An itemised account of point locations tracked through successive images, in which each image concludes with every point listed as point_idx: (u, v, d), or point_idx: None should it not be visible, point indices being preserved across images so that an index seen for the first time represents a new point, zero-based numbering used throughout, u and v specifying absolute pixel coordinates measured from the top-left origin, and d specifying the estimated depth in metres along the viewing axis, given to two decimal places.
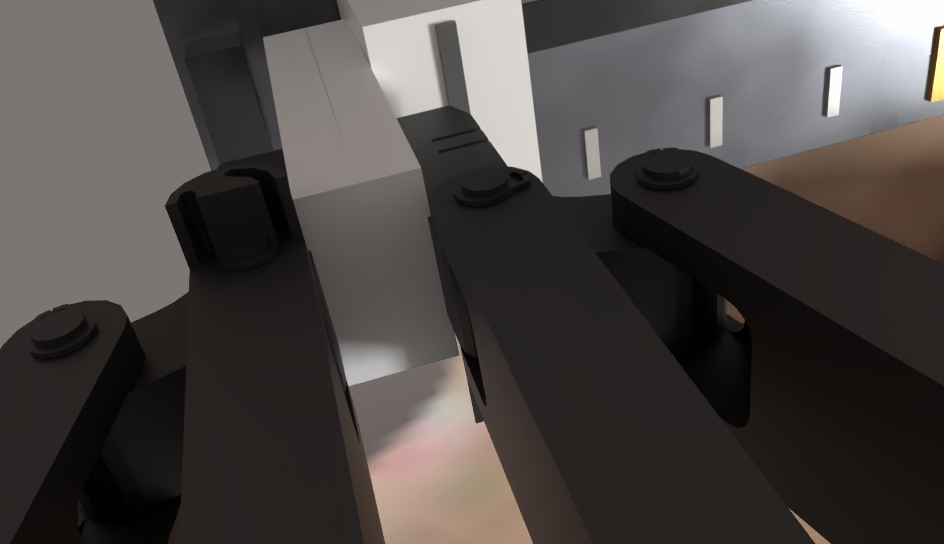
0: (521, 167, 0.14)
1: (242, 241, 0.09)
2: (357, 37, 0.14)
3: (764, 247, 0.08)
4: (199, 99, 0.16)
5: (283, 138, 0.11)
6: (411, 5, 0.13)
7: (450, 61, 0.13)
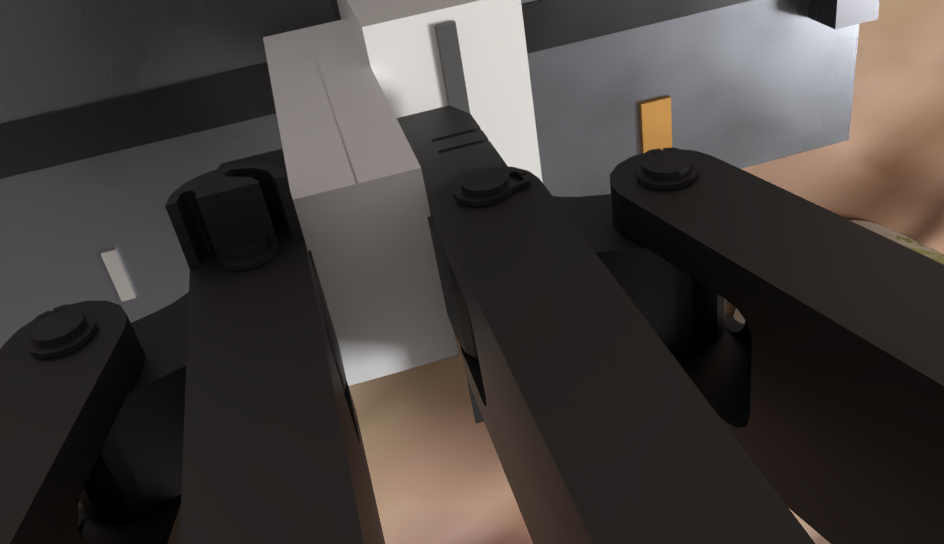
0: (521, 167, 0.14)
1: (242, 241, 0.09)
2: (357, 37, 0.14)
3: (764, 247, 0.08)
4: None
5: (283, 138, 0.11)
6: (411, 4, 0.13)
7: (450, 60, 0.13)
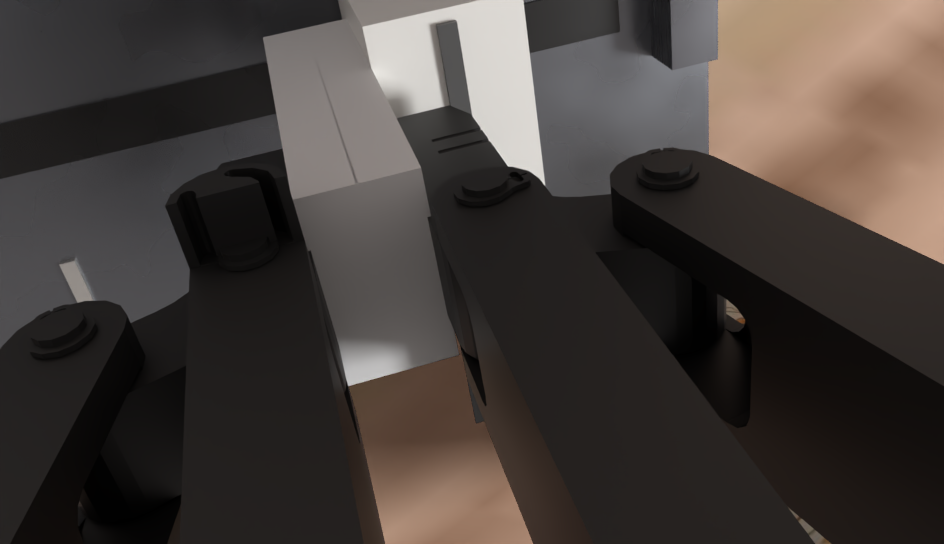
0: (523, 168, 0.14)
1: (242, 241, 0.09)
2: (357, 37, 0.14)
3: (764, 247, 0.08)
4: None
5: (283, 138, 0.11)
6: (411, 4, 0.13)
7: (451, 60, 0.13)
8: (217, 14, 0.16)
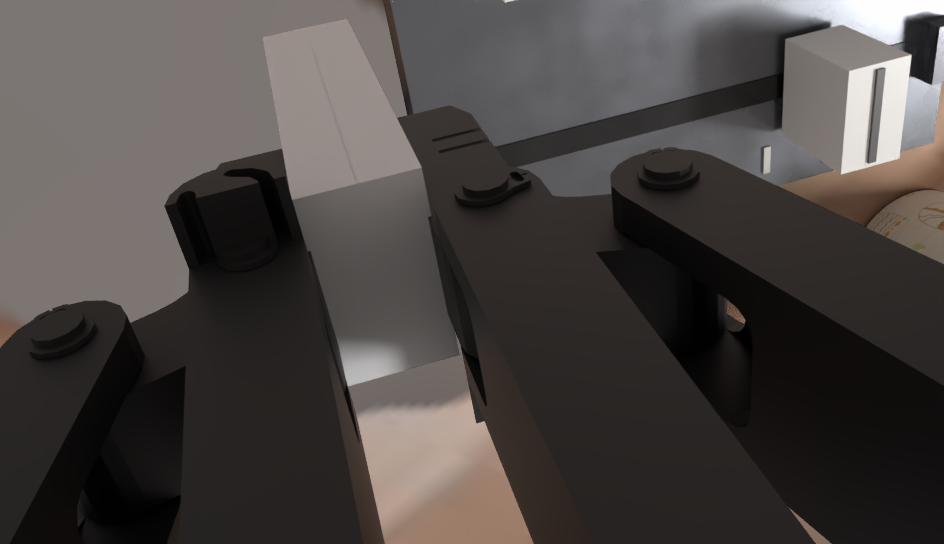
0: (894, 131, 0.32)
1: (241, 241, 0.09)
2: (827, 73, 0.31)
3: (764, 247, 0.08)
4: None
5: (283, 138, 0.11)
6: (861, 60, 0.31)
7: (880, 84, 0.30)
8: (728, 61, 0.34)
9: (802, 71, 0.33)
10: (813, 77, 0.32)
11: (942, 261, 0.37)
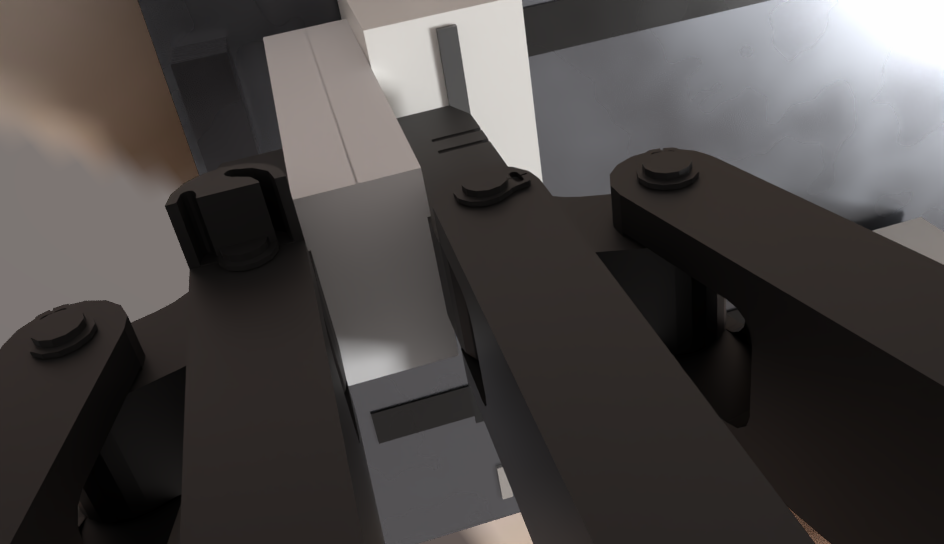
0: None
1: (242, 241, 0.09)
2: None
3: (764, 247, 0.08)
4: None
5: (283, 138, 0.11)
6: None
7: None
8: None
9: None
10: None
11: None
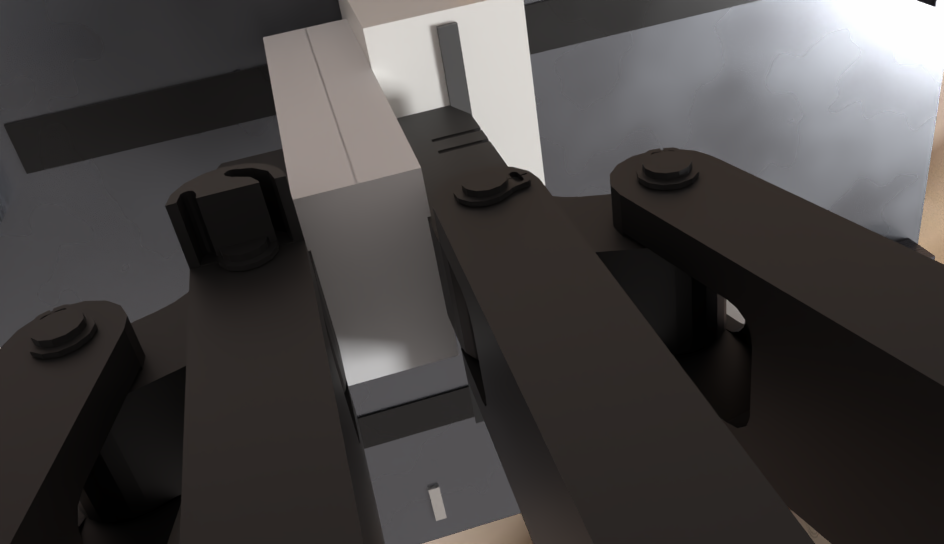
0: None
1: (242, 241, 0.09)
2: None
3: (764, 247, 0.08)
4: None
5: (283, 138, 0.11)
6: None
7: None
8: None
9: None
10: None
11: None
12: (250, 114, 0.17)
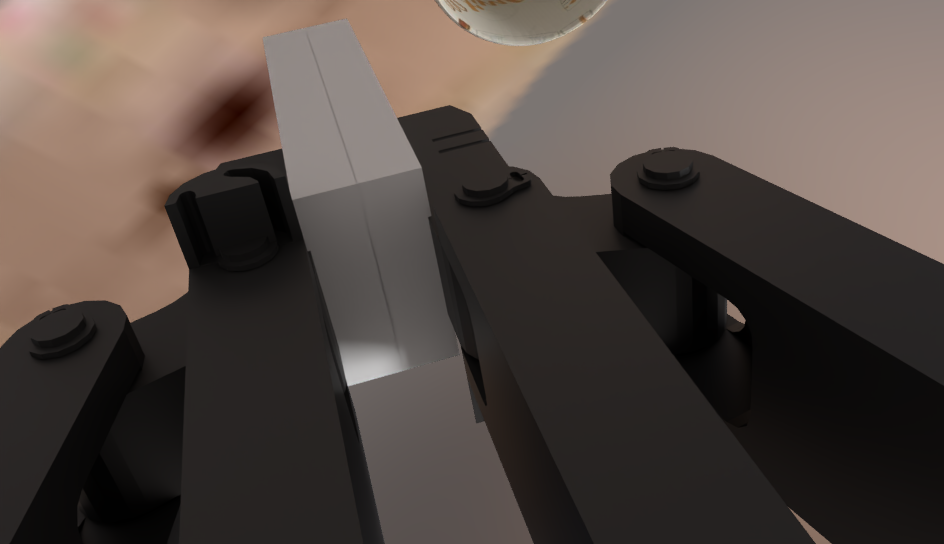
0: None
1: (242, 241, 0.09)
2: None
3: (765, 247, 0.08)
4: None
5: (282, 138, 0.11)
6: None
7: None
8: None
9: None
10: None
11: None
12: None
